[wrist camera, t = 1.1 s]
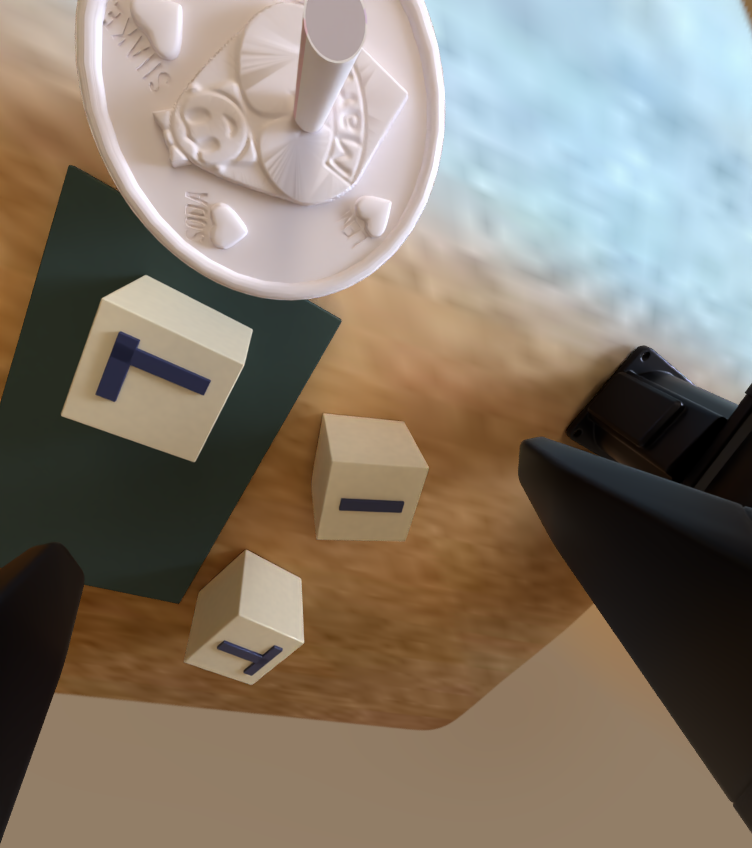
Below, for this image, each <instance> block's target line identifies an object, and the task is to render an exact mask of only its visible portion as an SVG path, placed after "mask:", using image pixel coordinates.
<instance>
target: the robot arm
mask: <svg viewBox="0 0 752 848" xmlns="http://www.w3.org/2000/svg"><path fill="white" fill-rule="evenodd" d="M643 354H644V355H643ZM642 355H643V356H642ZM745 393H746V396H745V397H744V398H743V400H742V401H741V402H740V404H739V405H737V404H735V403H733V402H731V401H728V400H726V399H724V398H722V397H720V396H717V395H715V394H713V393H711V392H708V391H706V390H704V389H702V388H699V387H697V386H695V385H694V384H693V383H692V382H691V381H689V380H688V379H687V378H686V377H685V376H684V375H682V374H681V373H680V372H679V371H678V370H677V369H675V368H674V367H673V366H672V365H671V364H669V363H668V362H667V361H666V360H665V359H664V358H662V357H661V356H660V355H659V354H658V353H657V352H655V351H654V350H653V349H652V348H649V347H647V346H640V347H638V348H637V349H636V350H635V351H634V352H633V353H632V354H631V355H630V356H629V358H628V359H627V360H626V361H625V362H624V363H623V365H622V366H621V367H620V368H619V369H618V370H617V371H616V373H615V374H614V375H613V376H612V377H611V378H610V380H609V381H608V382H607V383H606V384H605V385H604V387H603V388H602V389H601V390H600V391H599V392H598V394H597V395H596V396H595V397H594V398H593V399H592V400H591V402H590V403H589V404H588V405H587V406H586V407H585V409H584V410H583V411H582V412H581V413H580V414H579V416H578V417H577V418H576V419H575V420H574V421H573V422H572V424H571V425H570V426H569V427H568V429H567V432H566V433H567V435H568V437H570V438H571V439H572V440H574V441H575V442H577V443H579V444H580V445H582V446H584V447H585V448H587V449H589V450H590V451H592V452H594V453H596V454H597V455H599V456H597V455H594V454H591V453H588V452H585V451H583V450H580V449H577V448H574V447H571V446H568V445H565V444H562V443H559V442H556V441H553V440H550V439H547V438H544V437H536V438H531V439H527V440H524V441H522V442H521V445H520V451H519V466H518V476H519V480H520V483H521V485H522V487H523V489H524V491H525V492H526V494H527V496H528V498H529V500H530V502H531V504H532V505H533V507H534V509H535V511H536V513H537V515H538V517H539V519H540V520H541V522H542V524H543V526H544V528H545V530H546V532H547V533H548V535H549V537H550V539H551V540H552V542H553V544H554V545H555V547H556V549H557V550H558V552H559V553H560V555H561V556H562V558H563V559H564V560H565V562H566V563H567V565H568V566H569V568H570V569H571V571H572V572H573V574H574V575H575V576H576V578H577V579H578V581H579V582H580V584H581V585H582V587H583V588H584V590H585V591H586V592H587V594H588V595H589V597H590V598H591V600H592V601H593V603H594V604H595V605H596V607H597V608H598V610H599V611H600V613H601V614H602V616H603V617H604V618H605V620H606V621H607V623H608V624H609V626H610V627H611V629H612V630H613V632H614V633H615V635H616V636H617V637H618V639H619V640H620V642H621V643H622V645H623V646H624V648H625V649H626V651H627V652H628V653H629V655H630V656H631V658H632V659H633V661H634V662H635V664H636V665H637V666H638V668H639V669H640V671H641V672H642V674H643V675H644V677H645V678H646V679H647V681H648V682H649V684H650V685H651V687H652V688H653V689H654V691H655V693H656V694H657V696H658V697H659V698H660V700H661V701H662V703H663V704H664V706H665V707H666V708H667V710H668V712H669V713H670V714H671V716H672V717H673V719H674V720H675V722H676V723H677V725H678V726H679V728H680V729H681V730H682V732H683V733H684V735H685V736H686V738H687V739H688V741H689V742H690V743H691V745H692V746H693V748H694V749H695V751H696V752H697V754H698V755H699V757H700V758H701V759H702V761H703V762H704V764H705V765H706V767H707V768H708V770H709V771H710V773H711V774H712V775H713V777H714V778H715V780H716V781H717V783H718V784H719V785H720V787H721V789H722V790H723V791H724V793H725V794H726V796H727V797H728V799H729V800H730V801H731V802H734V803H733V806H734V808H735V809H736V811H737V812H738V814H739V815H740V817H741V818H742V820H743V821H744V823H745V824H746V825H747V827H748V828H749V830H750V831H751V833H752V384H751V385H750V386H749V388H748V389H747V390H746V392H745ZM575 431H577V432H575ZM600 456H601V457H600ZM83 587H84V574H83V571H82V569H81V568H80V566H79V565H78V564H77V562H76V561H75V559H74V558H73V557H72V555H71V554H70V552H69V551H68V550H67V548H66V547H65V546H64V545H63V544H61V543H59V542H51V543H47V544H42V545H38V546H34V547H32V548H30V549H28V550H27V551H25V552H24V553H22V554H21V555H19V556H18V557H17V558H15V559H14V560H12V561H11V562H9V563H8V564H7V565H5V566H4V567H2V568H1V569H0V843H1V840H2V837H3V834H4V831H5V829H6V826H7V823H8V821H9V818H10V815H11V812H12V809H13V807H14V803H15V801H16V798H17V795H18V793H19V790H20V787H21V784H22V781H23V779H24V776H25V773H26V770H27V767H28V765H29V762H30V759H31V756H32V753H33V751H34V748H35V745H36V742H37V740H38V737H39V734H40V731H41V728H42V725H43V723H44V720H45V717H46V714H47V712H48V709H49V706H50V703H51V700H52V697H53V695H54V692H55V689H56V687H57V684H58V681H59V678H60V675H61V672H62V669H63V666H64V662H65V659H66V655H67V651H68V647H69V643H70V639H71V635H72V631H73V627H74V623H75V619H76V615H77V611H78V607H79V603H80V599H81V595H82V591H83Z"/></svg>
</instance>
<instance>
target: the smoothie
mask: <svg viewBox="0 0 752 848" xmlns="http://www.w3.org/2000/svg"><path fill="white" fill-rule="evenodd" d="M75 52H76V66H77V73H78V81H79V88H80V92H81V97H82V101H83V106H84V110H85V114H86V117H87V120H88V123H89V127H90V130H91V133H92V136H93V138H94V141H95V143H96V146H97V148H98V151H99V154H100V156H101V158H102V160H103V162H104V164H105V166H106V168H107V170H108V172H109V174H110V176H111V178H112V180H113V181H114V183H115V185H116V186H117V188H118V190H119V192H120V193H121V195H122V196H123V198H124V199H125V201H126V202H127V204H128V205H129V206H130V208H131V209H132V211H133V212H134V213H135V215H136V216H137V217H138V218H139V220H140V221H141V222H142V223H143V225H144V226H145V227H146V228H147V229H148V230H149V231H150V232H151V233H152V234H153V236H154V237H155V238H156V239H157V240H158V241H159V242H160V243H161V244H162V245H163V246H165V247H166V248H167V249H168V250H169V251H170V252H171V253H172V254H173V255H175V256H176V257H177V258H179V259H180V260H181V261H183V262H184V263H185V264H186V265H188V266H189V267H191V268H192V269H194V270H195V271H197V272H198V273H200V274H202V275H203V276H205V277H207V278H209V279H211V280H213V281H214V282H216V283H218V284H221V285H223V286H225V287H228V288H230V289H232V290H235V291H238V292H241V293H245V294H248V295H252V296H256V297H261V298H267V299H275V300H304V299H312V298H317V297H322V296H326V295H329V294H333V293H336V292H338V291H341V290H344V289H346V288H348V287H350V286H352V285H354V284H356V283H358V282H360V281H361V280H363V279H365V278H366V277H368V276H369V275H371V274H372V273H373V272H375V271H376V270H377V269H378V268H380V267H381V266H382V265H383V264H384V263H385V262H386V261H388V260H389V259H390V258H391V257H392V256H393V255H394V254H395V252H396V251H397V250H398V249H399V248H400V247H401V245H402V244H403V243H404V242H405V240H406V239H407V237H408V236H409V235H410V233H411V232H412V230H413V229H414V227H415V225H416V223H417V222H418V220H419V218H420V216H421V214H422V212H423V210H424V208H425V206H426V204H427V202H428V199H429V196H430V194H431V191H432V188H433V186H434V182H435V179H436V175H437V172H438V168H439V163H440V158H441V153H442V147H443V139H444V129H445V89H444V79H443V70H442V64H441V59H440V53H439V48H438V44H437V40H436V36H435V32H434V28H433V25H432V22H431V19H430V16H429V13H428V10H427V7H426V4H425V2H424V0H78V2H77V9H76V23H75Z"/></svg>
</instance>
